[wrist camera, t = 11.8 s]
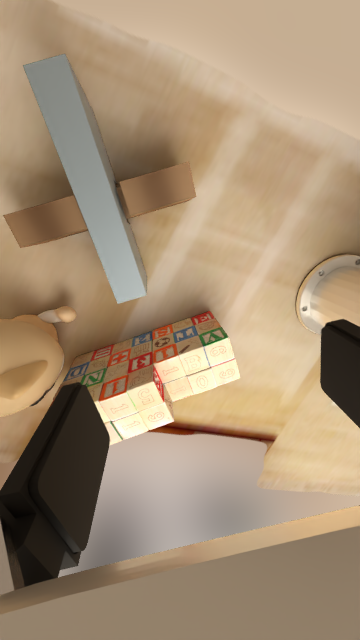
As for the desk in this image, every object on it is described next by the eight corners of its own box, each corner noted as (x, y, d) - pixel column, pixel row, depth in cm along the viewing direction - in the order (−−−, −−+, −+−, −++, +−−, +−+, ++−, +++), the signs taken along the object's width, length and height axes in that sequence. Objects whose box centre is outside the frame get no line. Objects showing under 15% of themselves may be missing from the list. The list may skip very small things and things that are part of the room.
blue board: (64, 118, 24) (22, 65, 16) (92, 110, 24) (64, 53, 16) (125, 282, 32) (117, 303, 23) (147, 276, 32) (146, 295, 23)
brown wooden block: (180, 173, 28) (188, 161, 22) (186, 201, 29) (196, 196, 23) (32, 216, 27) (3, 215, 22) (44, 242, 28) (20, 247, 23)
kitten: (-13, 368, 34) (-123, 468, 20) (-39, 302, 30) (-198, 369, 16) (94, 359, 35) (60, 446, 22) (82, 295, 32) (33, 352, 18)
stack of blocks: (210, 308, 35) (240, 350, 24) (220, 343, 37) (251, 396, 26) (74, 357, 35) (40, 421, 24) (93, 388, 38) (70, 459, 26)
